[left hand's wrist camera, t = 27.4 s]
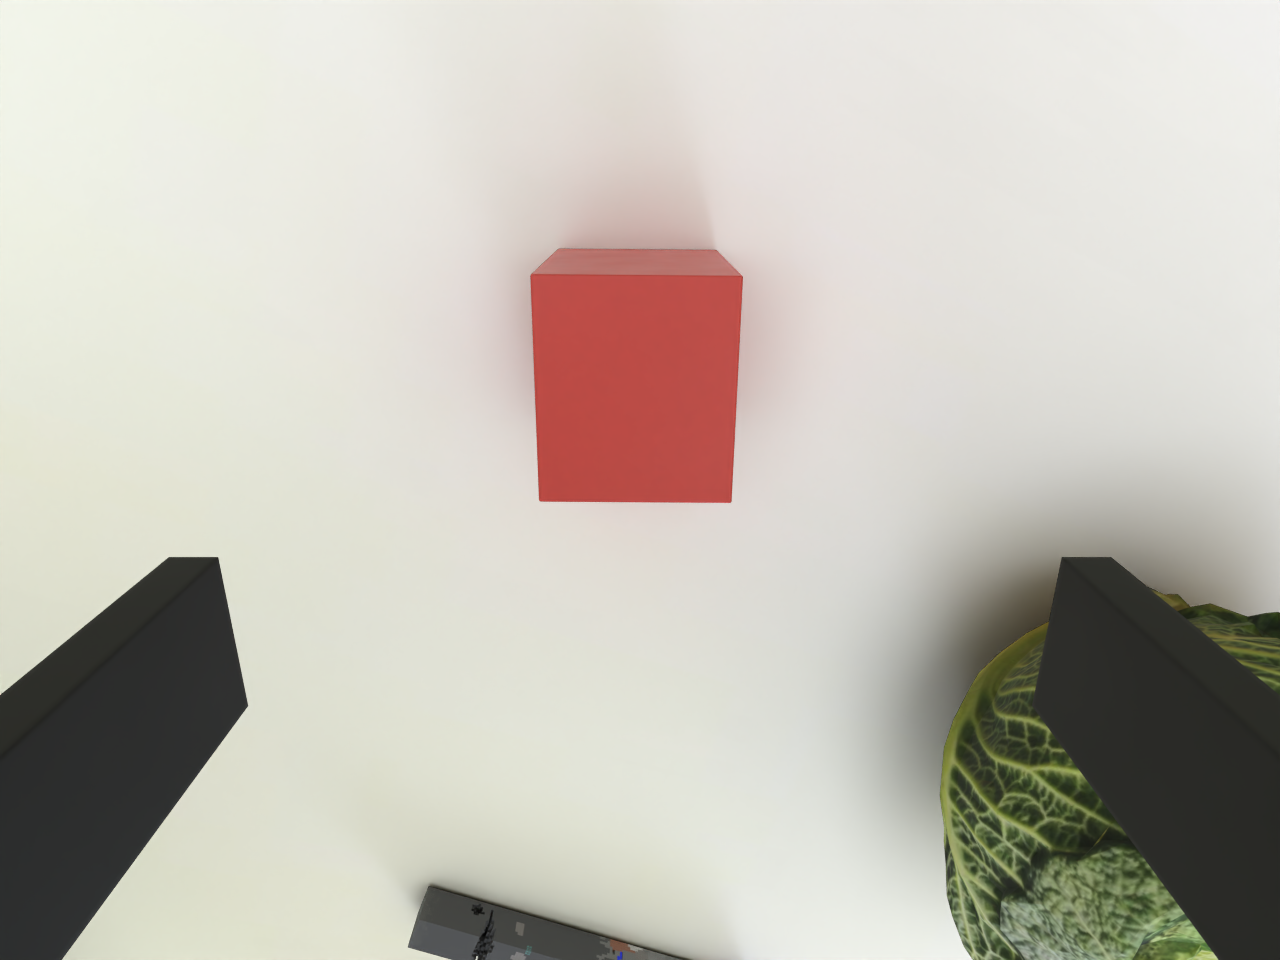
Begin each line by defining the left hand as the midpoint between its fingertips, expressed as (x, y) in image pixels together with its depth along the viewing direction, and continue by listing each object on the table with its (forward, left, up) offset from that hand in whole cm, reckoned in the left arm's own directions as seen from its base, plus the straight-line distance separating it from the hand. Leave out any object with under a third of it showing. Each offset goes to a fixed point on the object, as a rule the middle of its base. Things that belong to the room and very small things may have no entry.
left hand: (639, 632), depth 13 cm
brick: (0, 0, -24) cm, 24 cm away
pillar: (-21, -29, -24) cm, 42 cm away
